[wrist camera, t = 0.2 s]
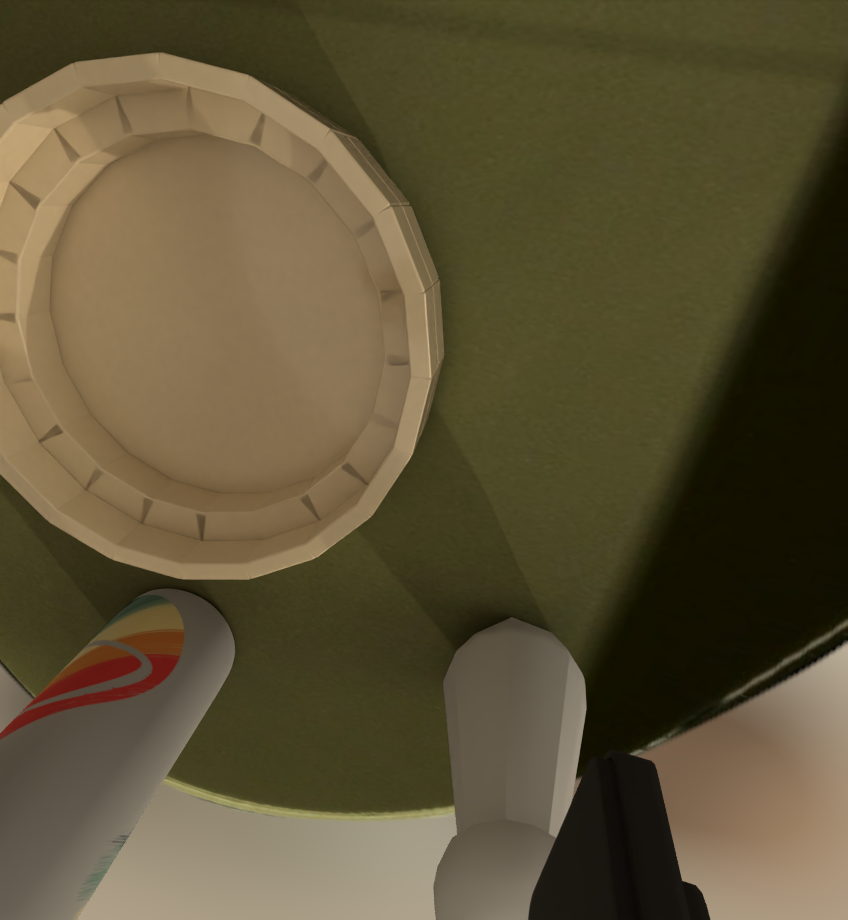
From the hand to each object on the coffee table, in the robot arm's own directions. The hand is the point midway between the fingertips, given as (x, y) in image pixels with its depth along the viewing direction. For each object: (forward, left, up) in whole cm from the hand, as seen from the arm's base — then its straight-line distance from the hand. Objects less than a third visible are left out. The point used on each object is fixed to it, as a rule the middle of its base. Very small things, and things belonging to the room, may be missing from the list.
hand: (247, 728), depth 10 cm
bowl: (0, -8, -19) cm, 21 cm away
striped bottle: (+15, -8, -20) cm, 26 cm away
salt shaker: (+11, +7, -20) cm, 23 cm away
